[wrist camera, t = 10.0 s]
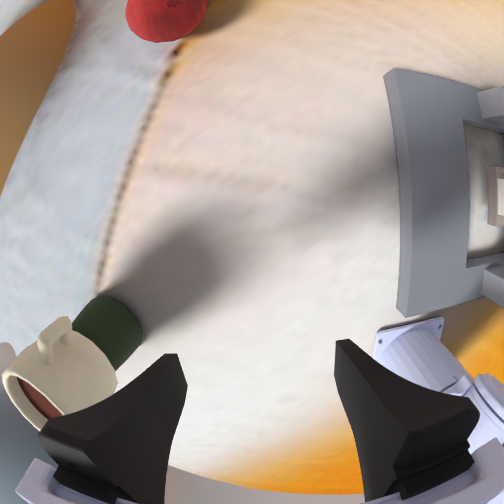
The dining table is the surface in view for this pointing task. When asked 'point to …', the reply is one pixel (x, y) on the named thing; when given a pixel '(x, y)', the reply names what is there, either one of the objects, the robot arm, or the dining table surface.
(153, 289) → the dining table surface
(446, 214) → the grey piece
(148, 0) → the onion
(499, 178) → the white notched u-block
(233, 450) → the dining table surface
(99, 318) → the character mug
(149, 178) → the dining table surface
